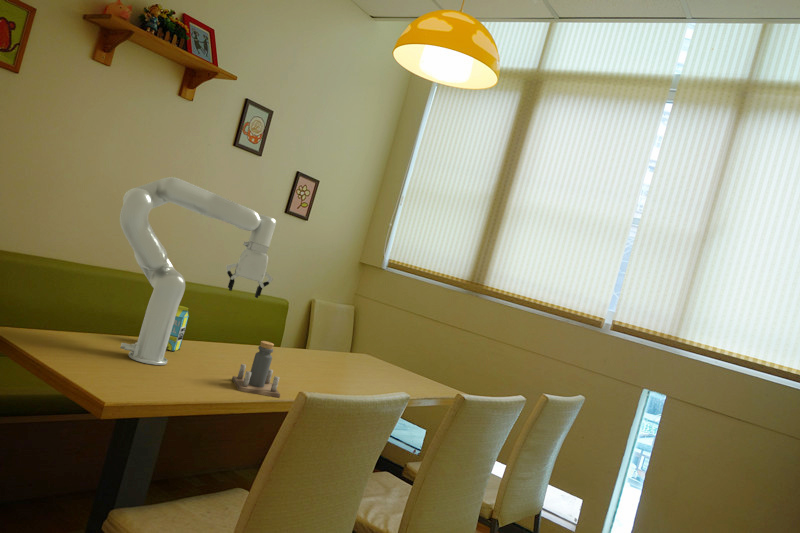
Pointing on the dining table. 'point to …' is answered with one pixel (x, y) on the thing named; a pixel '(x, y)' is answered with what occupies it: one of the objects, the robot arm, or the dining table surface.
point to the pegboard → (243, 385)
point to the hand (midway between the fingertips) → (243, 293)
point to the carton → (178, 329)
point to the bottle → (261, 364)
